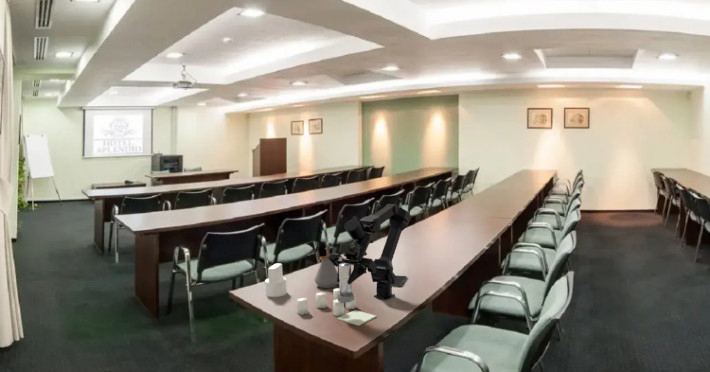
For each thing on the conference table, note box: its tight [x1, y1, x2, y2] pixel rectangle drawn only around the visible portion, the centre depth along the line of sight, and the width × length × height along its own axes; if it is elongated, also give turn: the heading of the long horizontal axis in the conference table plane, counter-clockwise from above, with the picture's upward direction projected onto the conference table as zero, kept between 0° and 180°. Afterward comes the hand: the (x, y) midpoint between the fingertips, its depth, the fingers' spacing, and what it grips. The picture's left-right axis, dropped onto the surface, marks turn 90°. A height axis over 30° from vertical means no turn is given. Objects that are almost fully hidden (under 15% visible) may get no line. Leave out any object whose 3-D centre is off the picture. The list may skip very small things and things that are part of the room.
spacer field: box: [296, 287, 357, 317], centre depth 175 cm, size 21×16×5 cm
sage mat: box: [337, 309, 377, 326], centre depth 166 cm, size 10×10×1 cm
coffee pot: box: [314, 245, 339, 289], centre depth 210 cm, size 21×12×15 cm, turn 0°
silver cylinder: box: [338, 263, 355, 303], centre depth 165 cm, size 6×6×13 cm
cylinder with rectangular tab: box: [264, 263, 288, 298], centre depth 196 cm, size 9×9×12 cm
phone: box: [392, 274, 408, 288], centre depth 209 cm, size 8×1×15 cm
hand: (343, 282), depth 164 cm, fingers closed on silver cylinder, 4 cm apart
